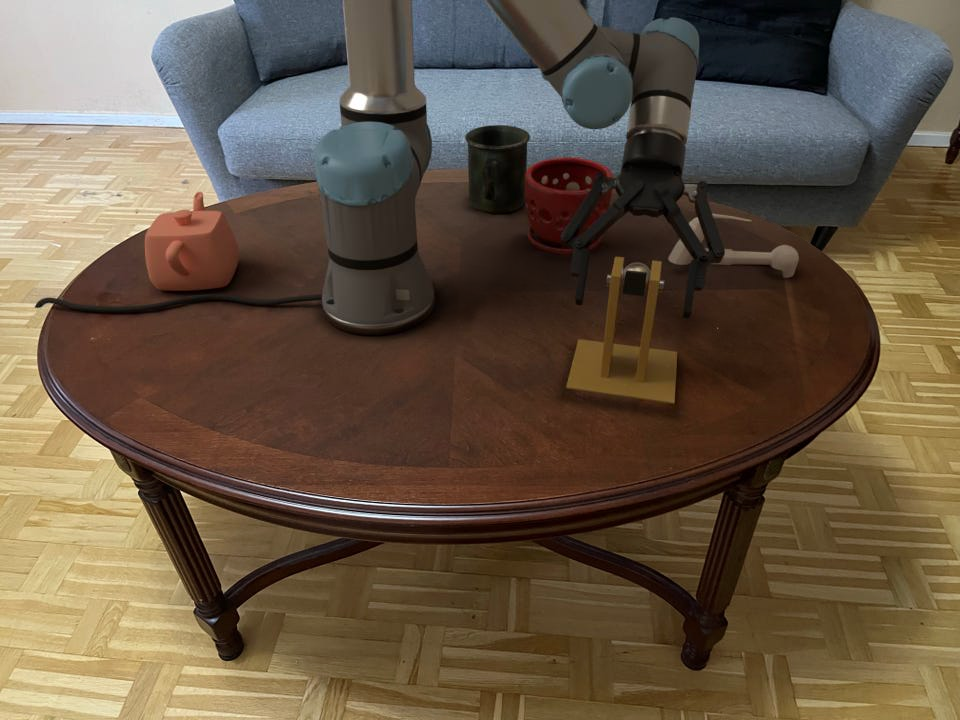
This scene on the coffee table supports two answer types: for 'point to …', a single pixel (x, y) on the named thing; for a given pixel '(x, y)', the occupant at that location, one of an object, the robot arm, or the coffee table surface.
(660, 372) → the yellow post stand
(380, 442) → the coffee table surface
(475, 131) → the mug
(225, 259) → the teapot
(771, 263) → the faucet
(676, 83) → the robot arm
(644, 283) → the black lever with ball
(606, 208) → the flower pot
